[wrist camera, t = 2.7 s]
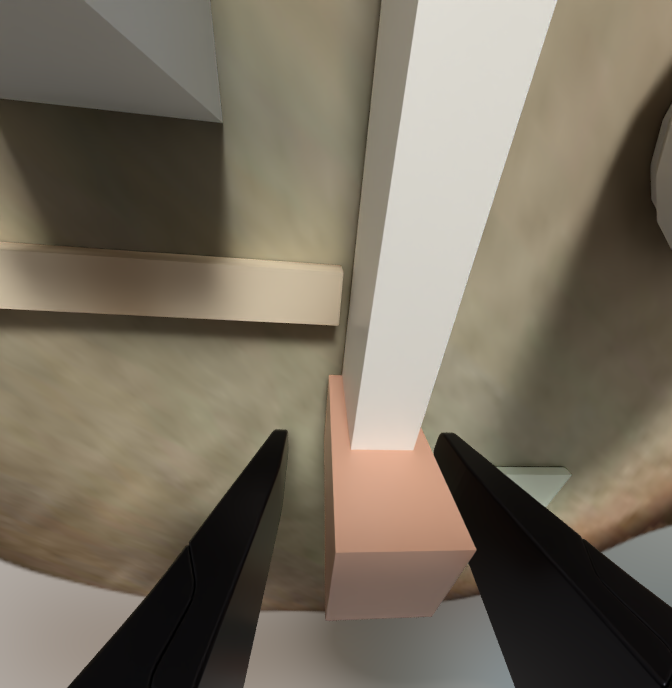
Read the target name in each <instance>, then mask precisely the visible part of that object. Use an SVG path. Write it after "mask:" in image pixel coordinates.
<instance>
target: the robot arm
mask: <svg viewBox="0 0 672 688" xmlns="http://www.w3.org/2000/svg"><path fill="white" fill-rule="evenodd" d="M434 457H435V459H436V462H437V464H438V466H439V468H440V470H441V473H442V475H443V477H444V479H445V481H446V484H447V486H448V488H449V490H450V492H451V495H452V497H453V499H454V501H455V503H456V506H457V508H458V510H459V512H460V514H461V517H462V519H463V521H464V523H465V526H466V528H467V530H468V532H469V534H470V537H471V539H472V541H473V543H474V545H475V548H476V552H475V553H474V555H473V556H472V558H471V559H470V561H469V562H468V563H469V565H470V568H471V571H472V573H473V576H474V579H475V582H476V584H477V587H478V590H479V592H480V595H481V598H482V600H483V603H484V606H485V608H486V611H487V613H488V616H489V619H490V622H491V624H492V627H493V630H494V632H495V635H496V638H497V640H498V643H499V645H500V648H501V651H502V654H503V656H504V659H505V662H506V664H507V667H508V670H509V672H510V675H511V678H512V680H513V683H514V686H515V688H672V607H670V606H669V605H668V604H666V603H665V602H664V601H662V600H661V599H660V598H659V597H657V596H656V595H655V594H653V593H652V592H651V591H649V590H648V589H647V588H645V587H644V586H643V585H641V584H640V583H639V582H637V581H636V580H635V579H633V578H632V577H631V576H630V575H629V574H627V573H626V572H625V571H623V570H622V569H621V568H620V567H618V566H617V565H616V564H615V563H613V562H612V561H611V560H610V559H608V558H607V557H606V556H605V555H603V554H602V553H601V552H600V551H599V550H597V549H596V548H595V547H594V546H592V545H591V544H590V543H589V542H587V541H586V540H585V539H582V538H581V536H580V535H579V534H578V533H576V532H575V531H574V530H573V529H571V528H570V527H569V526H568V525H566V524H565V523H564V522H563V521H562V520H560V519H559V518H558V517H557V516H555V515H554V514H553V513H552V512H551V511H549V510H548V509H547V508H546V507H544V506H543V505H542V504H541V503H540V502H538V501H537V500H536V499H535V498H533V497H532V496H531V495H530V494H528V493H527V492H526V491H525V490H524V489H522V488H521V487H520V486H519V485H517V484H516V483H515V482H514V481H513V480H511V479H510V478H509V477H508V476H506V475H505V474H504V473H503V472H502V471H500V470H499V469H498V468H497V467H495V466H494V465H493V464H492V463H490V462H489V461H488V460H487V459H486V458H484V457H483V456H482V455H481V454H479V453H478V452H477V451H476V450H475V449H473V448H472V447H471V446H470V445H468V444H467V443H466V442H465V441H464V440H462V439H461V438H460V437H459V436H457V435H456V434H454V433H441V434H440V435H439V437H438V440H437V443H436V445H435V448H434ZM287 460H288V431H287V430H280V429H276V430H274V431H273V432H272V433H271V435H270V436H269V437H268V439H267V440H266V441H265V443H264V444H263V445H262V446H261V448H260V449H259V450H258V452H257V453H256V454H255V456H254V457H253V458H252V460H251V461H250V462H249V464H248V465H247V466H246V468H245V469H244V470H243V472H242V473H241V474H240V475H239V477H238V478H237V479H236V481H235V482H234V483H233V485H232V486H231V487H230V489H229V490H228V491H227V493H226V494H225V495H224V497H223V498H222V499H221V501H220V502H219V503H218V505H217V506H216V507H215V508H214V510H213V511H212V512H211V514H210V515H209V516H208V518H207V519H206V520H205V522H204V523H203V524H202V526H201V527H200V528H199V530H198V531H197V532H196V534H195V535H194V536H193V538H192V539H191V540H190V542H189V545H187V546H186V547H185V548H184V549H183V550H182V552H181V553H180V554H179V556H178V557H177V558H176V560H175V561H174V562H173V564H172V565H171V566H170V568H169V569H168V570H167V571H166V573H165V574H164V575H163V576H162V578H161V579H160V580H159V581H158V583H157V584H156V585H155V587H154V588H153V589H152V590H151V592H150V593H149V594H148V595H147V596H146V598H145V599H144V600H143V601H142V602H141V604H140V605H139V606H138V607H137V608H136V609H135V611H134V612H133V613H132V614H131V615H130V617H129V618H128V619H127V620H126V621H125V622H124V624H123V625H122V626H121V627H120V628H119V629H118V630H117V632H116V633H115V634H114V635H113V636H112V637H111V639H110V640H109V641H108V642H107V643H106V644H105V645H104V646H103V648H102V649H101V650H100V651H99V652H98V653H97V654H96V656H95V657H94V658H93V659H92V660H91V661H90V662H89V664H88V665H87V666H86V667H85V668H84V669H83V670H82V672H81V673H80V674H79V675H78V676H77V677H76V678H75V679H74V681H73V682H72V683H71V684H70V685H69V686H68V688H243V686H244V683H245V678H246V673H247V668H248V664H249V659H250V655H251V650H252V646H253V641H254V636H255V632H256V627H257V622H258V618H259V613H260V609H261V604H262V599H263V595H264V590H265V585H266V581H267V576H268V572H269V567H270V562H271V558H272V553H273V548H274V544H275V539H276V535H277V530H278V525H279V521H280V516H281V511H282V505H283V497H284V488H285V479H286V469H287Z"/></svg>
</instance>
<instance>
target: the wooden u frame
mask: <svg viewBox="0 0 672 688" xmlns="http://www.w3.org/2000/svg"><path fill="white" fill-rule="evenodd" d="M342 283H343V270H342V267H341V265H329V264H315V263H300V262H286V261H271V260H257V259H243V258H228V257H214V256H199V255H185V254H170V253H156V252H142V251H127V250H113V249H98V248H84V247H69V246H55V245H41V244H26V243H12V242H0V308H1V309H21V310H40V311H60V312H80V313H99V314H119V315H139V316H159V317H178V318H198V319H218V320H237V321H257V322H277V323H297V324H316V325H336V326H339V317H340V306H341V294H342Z"/></svg>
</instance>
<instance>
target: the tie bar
mask: <svg viewBox="0 0 672 688" xmlns="http://www.w3.org/2000/svg"><path fill="white" fill-rule="evenodd" d="M556 2H557V0H382V2H381V11H380V21H379V30H378V40H377V49H376V59H375V68H374V78H373V87H372V97H371V106H370V116H369V125H368V135H367V144H366V154H365V163H364V173H363V182H362V192H361V201H360V211H359V220H358V230H357V239H356V249H355V258H354V267H353V277H352V286H351V296H350V305H349V315H348V324H347V334H346V343H345V353H344V362H343V372H342V375H329V380H328V393H327V407H326V420H325V433H324V490H325V620H326V621H334V620H358V619H384V618H409V617H432V615H433V614H434V613H435V611H436V609H437V608H438V607H439V605H440V604H441V602H442V601H443V599H444V598H445V596H446V595H447V593H448V592H449V590H450V589H451V587H452V586H453V584H454V583H455V581H456V580H457V578H458V577H459V576H460V574H461V573H462V571H463V570H464V568H465V567H466V565H467V564H468V562H469V561H470V559H471V558H472V556H473V555H474V553H475V552H476V548H475V545H474V543H473V541H472V539H471V537H470V534H469V532H468V530H467V528H466V526H465V523H464V521H463V519H462V517H461V514H460V512H459V510H458V508H457V506H456V503H455V501H454V499H453V497H452V495H451V492H450V490H449V488H448V486H447V484H446V481H445V479H444V477H443V475H442V473H441V470H440V468H439V466H438V464H437V462H436V459H435V457H434V455H433V453H432V451H431V448H430V446H429V444H428V442H427V440H426V437H425V435H424V433H423V431H422V429H421V424H422V421H423V418H424V415H425V412H426V409H427V406H428V403H429V399H430V396H431V393H432V390H433V387H434V384H435V381H436V378H437V374H438V371H439V368H440V365H441V362H442V359H443V356H444V352H445V349H446V346H447V343H448V340H449V337H450V334H451V331H452V327H453V324H454V321H455V318H456V315H457V312H458V309H459V306H460V302H461V299H462V296H463V293H464V290H465V287H466V284H467V281H468V277H469V274H470V271H471V268H472V265H473V262H474V259H475V256H476V252H477V249H478V246H479V243H480V240H481V237H482V234H483V230H484V227H485V224H486V221H487V218H488V215H489V212H490V209H491V205H492V202H493V199H494V196H495V193H496V190H497V187H498V184H499V180H500V177H501V174H502V171H503V168H504V165H505V162H506V159H507V155H508V152H509V149H510V146H511V143H512V140H513V137H514V134H515V130H516V127H517V124H518V121H519V118H520V115H521V112H522V109H523V105H524V102H525V99H526V96H527V93H528V90H529V87H530V83H531V80H532V77H533V74H534V71H535V68H536V65H537V62H538V58H539V55H540V52H541V49H542V46H543V43H544V40H545V37H546V33H547V30H548V27H549V24H550V21H551V18H552V15H553V12H554V8H555V5H556Z"/></svg>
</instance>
